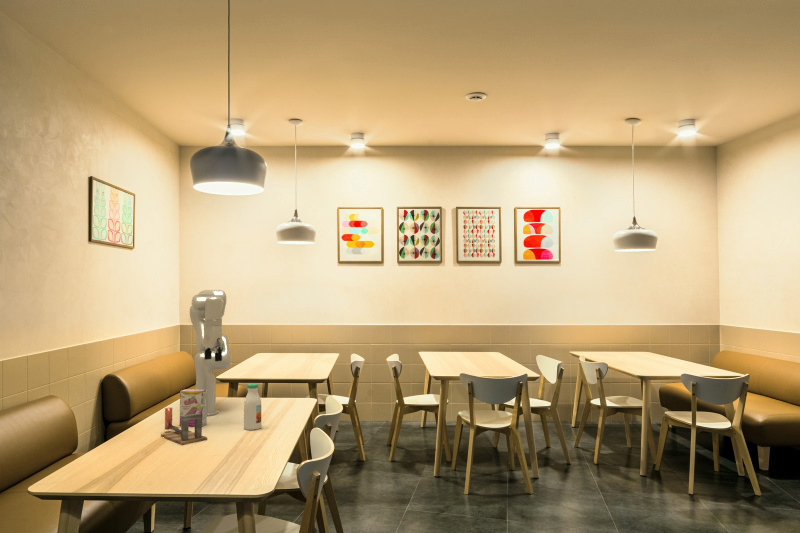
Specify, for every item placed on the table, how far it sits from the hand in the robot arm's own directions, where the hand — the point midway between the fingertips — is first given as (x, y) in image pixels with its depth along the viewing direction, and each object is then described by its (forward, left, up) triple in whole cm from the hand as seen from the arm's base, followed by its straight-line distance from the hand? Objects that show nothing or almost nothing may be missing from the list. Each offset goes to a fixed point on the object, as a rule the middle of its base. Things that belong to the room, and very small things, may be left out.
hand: (213, 360), depth 260 cm
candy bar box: (-7, -6, -31) cm, 32 cm away
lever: (+3, -19, -29) cm, 35 cm away
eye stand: (+11, -19, -30) cm, 37 cm away
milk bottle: (+18, +10, -31) cm, 37 cm away
